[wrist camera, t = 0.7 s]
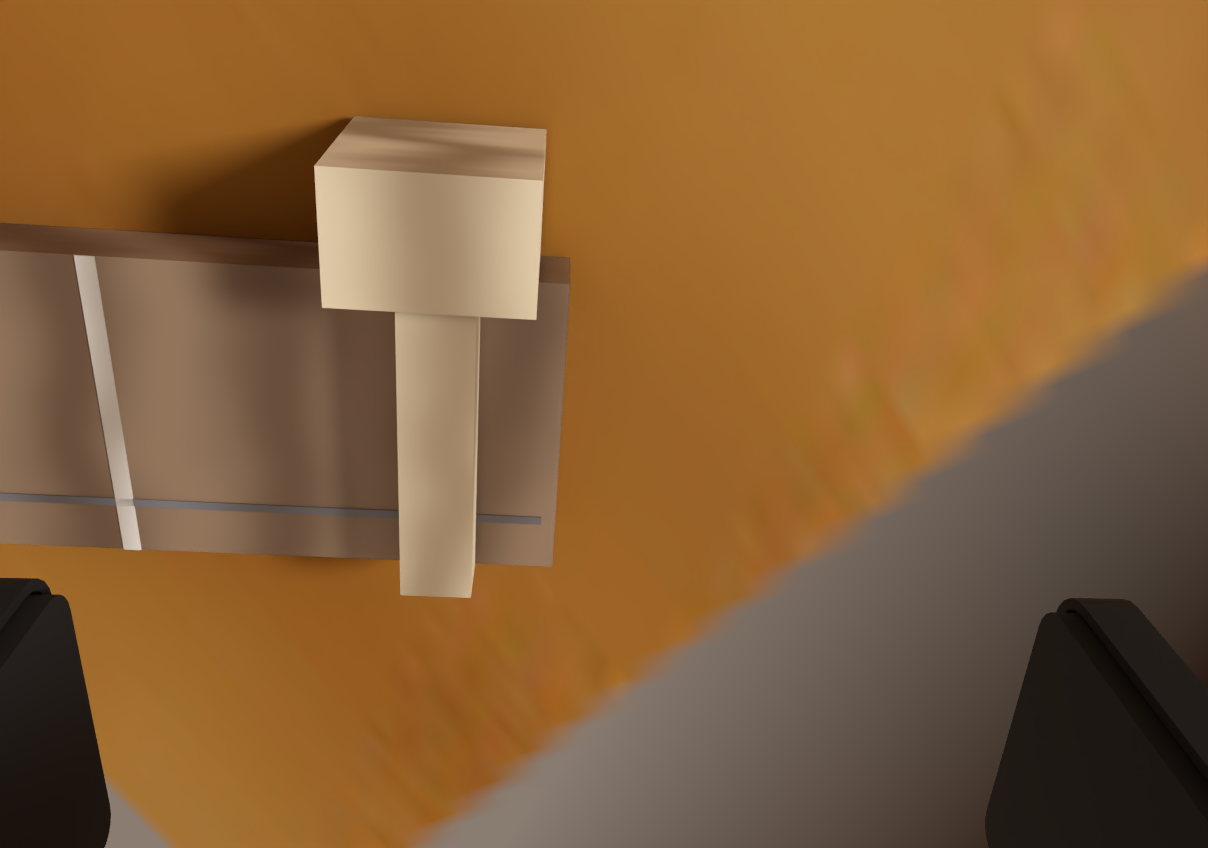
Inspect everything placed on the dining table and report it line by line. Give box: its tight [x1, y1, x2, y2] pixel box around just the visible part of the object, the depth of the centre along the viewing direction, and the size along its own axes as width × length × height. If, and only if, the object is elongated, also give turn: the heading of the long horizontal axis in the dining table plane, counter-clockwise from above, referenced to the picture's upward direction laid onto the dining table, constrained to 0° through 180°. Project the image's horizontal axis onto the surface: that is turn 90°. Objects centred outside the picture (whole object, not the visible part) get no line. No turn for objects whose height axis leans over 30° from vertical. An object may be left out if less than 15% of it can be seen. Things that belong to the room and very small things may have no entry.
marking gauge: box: [314, 116, 546, 598], centre depth 34 cm, size 6×15×6 cm, turn 176°
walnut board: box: [0, 223, 570, 566], centre depth 36 cm, size 20×11×3 cm, turn 86°
